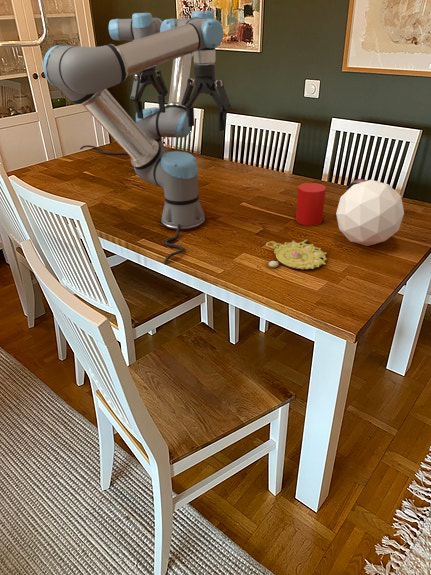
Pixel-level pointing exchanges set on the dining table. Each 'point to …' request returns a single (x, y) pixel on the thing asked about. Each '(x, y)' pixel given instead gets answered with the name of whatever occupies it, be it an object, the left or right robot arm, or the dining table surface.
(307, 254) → the decorative object
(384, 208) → the sphere
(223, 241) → the dining table surface
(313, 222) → the canister
